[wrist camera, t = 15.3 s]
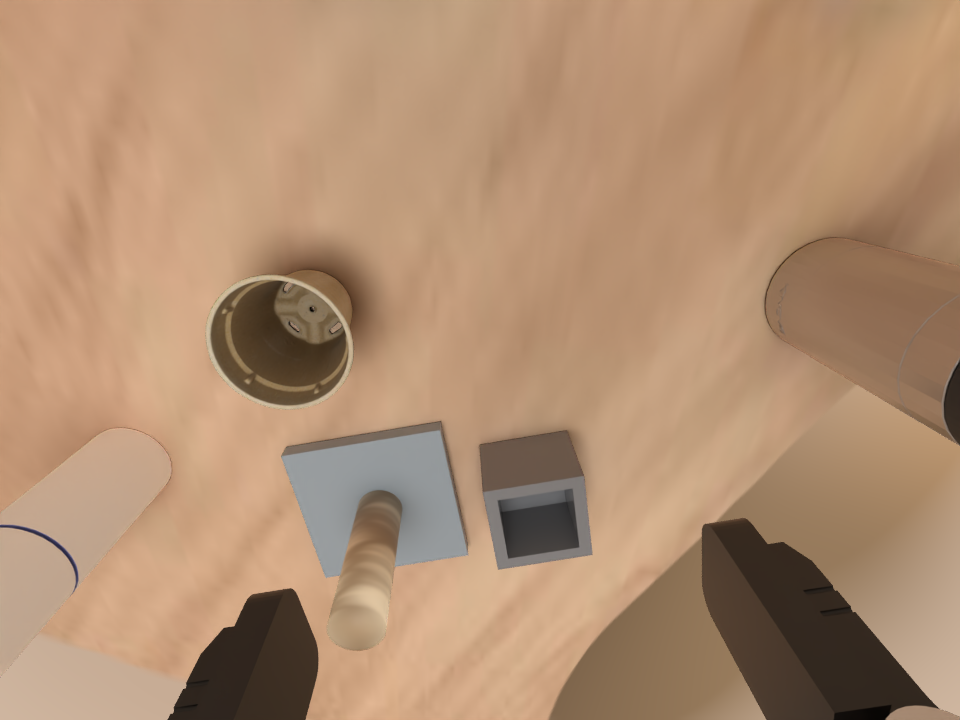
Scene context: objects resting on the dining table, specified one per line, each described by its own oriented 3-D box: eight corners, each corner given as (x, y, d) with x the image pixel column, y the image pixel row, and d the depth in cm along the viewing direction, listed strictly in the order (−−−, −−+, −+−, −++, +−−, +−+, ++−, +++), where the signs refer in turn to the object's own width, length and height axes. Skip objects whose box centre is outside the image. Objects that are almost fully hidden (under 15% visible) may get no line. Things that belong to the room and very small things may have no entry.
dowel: (396, 486, 47) (377, 603, 35) (406, 521, 48) (392, 645, 36) (353, 494, 47) (319, 613, 35) (364, 529, 48) (335, 655, 36)
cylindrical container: (183, 450, 46) (-91, 752, 23) (156, 507, 49) (-118, 836, 25) (101, 414, 45) (-281, 701, 22) (77, 475, 47) (-292, 795, 24)
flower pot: (351, 378, 44) (328, 429, 36) (240, 337, 43) (190, 381, 35) (389, 277, 41) (372, 309, 33) (271, 229, 40) (224, 251, 32)
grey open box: (566, 430, 47) (584, 475, 41) (575, 502, 50) (592, 554, 44) (479, 444, 47) (482, 492, 41) (492, 515, 50) (498, 569, 44)
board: (440, 421, 46) (439, 430, 45) (467, 544, 52) (468, 555, 50) (286, 447, 47) (281, 456, 45) (329, 566, 52) (325, 577, 51)
